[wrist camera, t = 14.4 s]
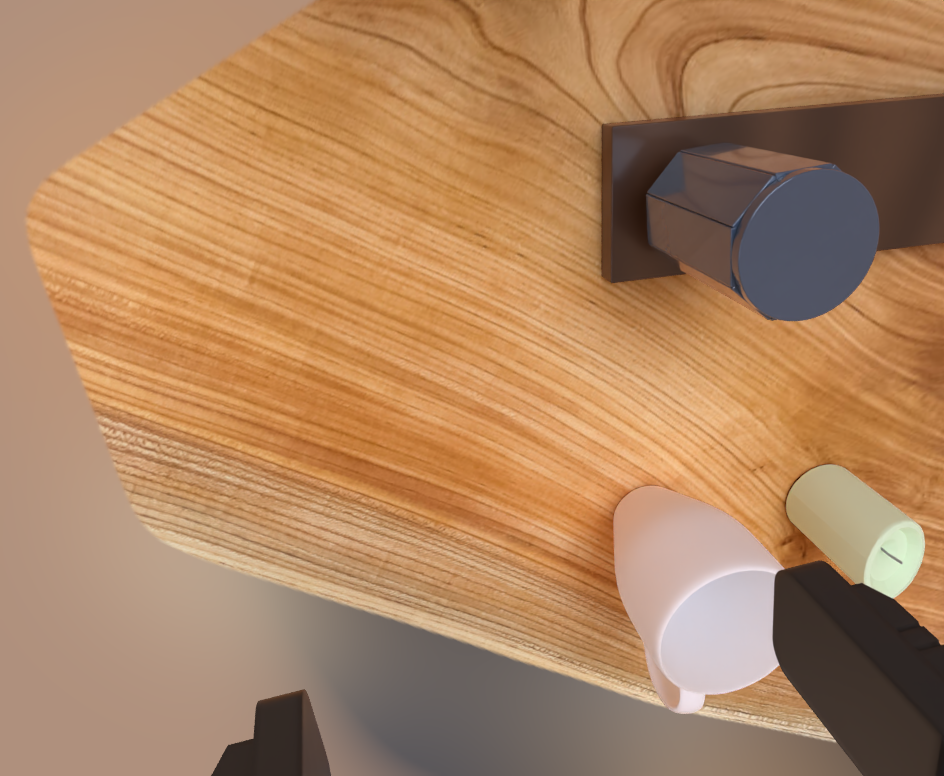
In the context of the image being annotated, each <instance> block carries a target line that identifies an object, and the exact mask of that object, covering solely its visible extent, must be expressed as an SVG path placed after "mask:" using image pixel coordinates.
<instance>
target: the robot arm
mask: <svg viewBox="0 0 944 776" xmlns="http://www.w3.org/2000/svg"><path fill="white" fill-rule="evenodd" d="M772 640H773V647H774V651H775V655H776V658H777V660H778V663H779V665H780V667H781V669H782V671H783V672H784V674H785V676H786V677H787V678H788V680H789V681H790V682H791V683H792V685H793V686H794V687H795V689H796V690H797V691H798V692H799V694H800V695H801V696H802V698H803V699H804V700H805V701H806V703H807V704H808V705H809V707H810V708H811V709H812V710H813V712H814V713H815V714H816V716H817V717H818V718H819V719H820V721H821V722H822V723H823V725H824V726H825V727H826V728H827V730H828V731H829V732H830V734H831V735H832V736H833V737H834V739H835V740H836V741H837V743H838V744H839V745H840V746H841V748H842V749H843V750H844V752H845V753H846V754H847V755H848V757H849V758H850V759H851V760H852V762H853V763H854V764H855V766H856V767H857V768H858V770H859V771H860V772H861V773H862V775H863V776H944V645H940V644H939V640H938V639H937V638H936V637H935V636H934V635H932V634H931V633H930V632H929V631H928V630H927V629H926V628H925V627H924V626H922V627H921V626H920V625H919V623H918V621H917V620H916V619H915V618H914V617H913V616H912V615H911V614H910V613H908V612H907V611H906V610H905V609H904V608H903V607H902V606H901V605H900V604H899V603H898V602H896V601H895V600H894V599H893V598H891V597H889V596H887V595H885V594H883V593H881V592H879V591H877V590H875V589H873V588H871V587H869V586H867V585H865V584H863V583H859V584H855V585H850V584H849V583H848V582H847V581H846V580H845V579H844V578H843V577H842V576H841V575H840V574H839V573H838V572H836V571H835V570H834V569H833V568H832V567H831V566H830V565H829V564H828V563H826V562H824V561H815V562H811V563H807V564H803V565H799V566H795V567H791V568H787V569H784V570H780V571H778V572H777V573H776V575H775V580H774V605H773V634H772ZM211 776H331V773H330V768H329V763H328V759H327V755H326V752H325V749H324V745H323V742H322V739H321V735H320V732H319V729H318V725H317V722H316V719H315V716H314V712H313V709H312V706H311V703H310V699H309V697H308V694H307V692H306V690H300V691H296V692H292V693H289V694H284V695H280V696H276V697H272V698H268V699H264V700H260V701H258V703H257V706H256V713H255V726H254V739H250V740H246V741H243V742H239V743H235V744H231V745H228V746H227V748H226V750H225V752H224V753H223V755H222V757H221V759H220V761H219V763H218V764H217V767H216V768H215V770H214V772H213V774H212V775H211Z"/></svg>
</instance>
